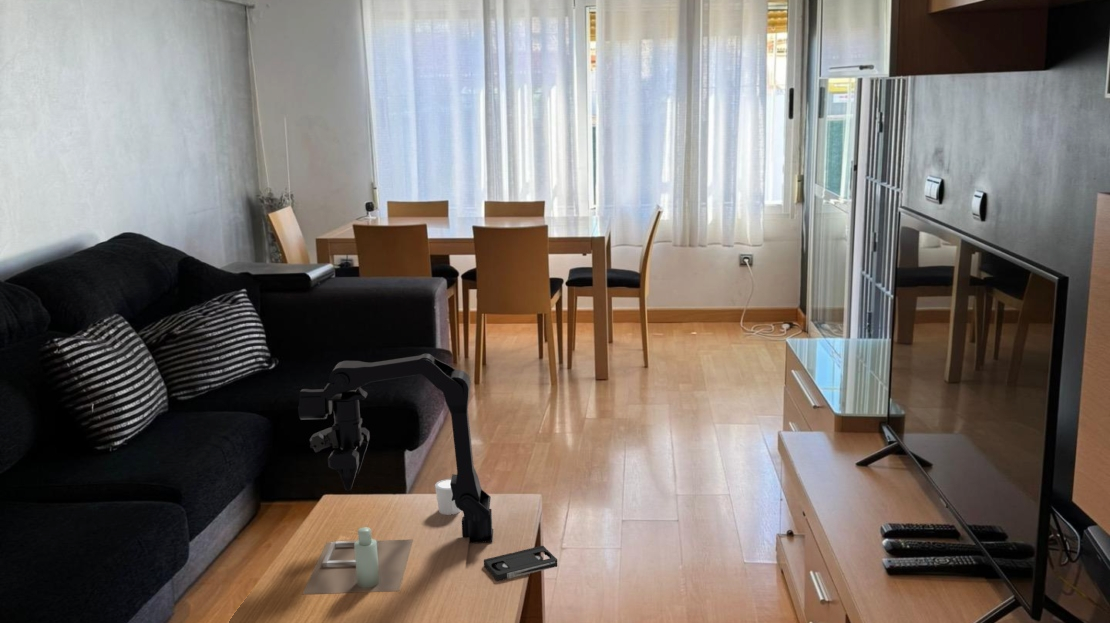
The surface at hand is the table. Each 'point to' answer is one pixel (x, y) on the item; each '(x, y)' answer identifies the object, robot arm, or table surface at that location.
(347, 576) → the board
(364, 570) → the bottle
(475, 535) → the robot arm
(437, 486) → the white cup
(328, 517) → the table surface
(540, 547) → the vhs tape
